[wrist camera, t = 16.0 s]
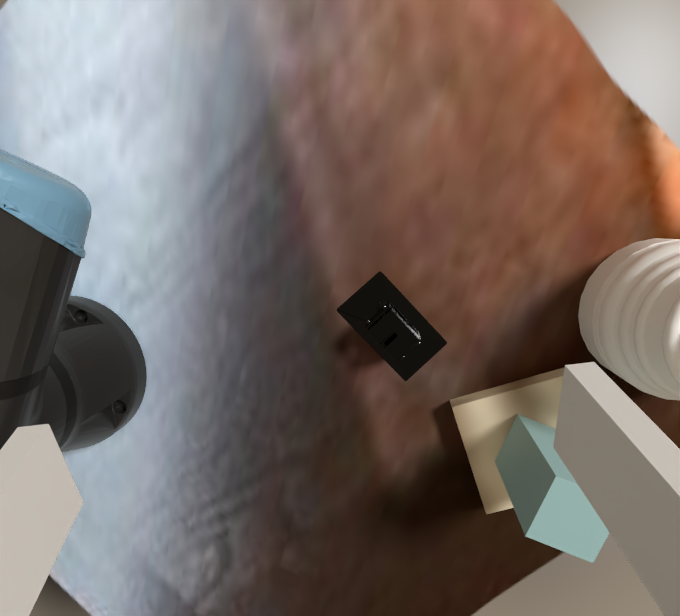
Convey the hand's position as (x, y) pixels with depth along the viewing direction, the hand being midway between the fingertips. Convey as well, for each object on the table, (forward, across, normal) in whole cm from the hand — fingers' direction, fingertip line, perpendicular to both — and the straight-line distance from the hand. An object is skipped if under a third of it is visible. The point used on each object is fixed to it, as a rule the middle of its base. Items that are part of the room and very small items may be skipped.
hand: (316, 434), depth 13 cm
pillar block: (+23, +18, -24) cm, 38 cm away
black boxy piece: (+31, +7, -14) cm, 35 cm away
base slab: (+26, +18, -25) cm, 40 cm away
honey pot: (+27, +30, -14) cm, 42 cm away
